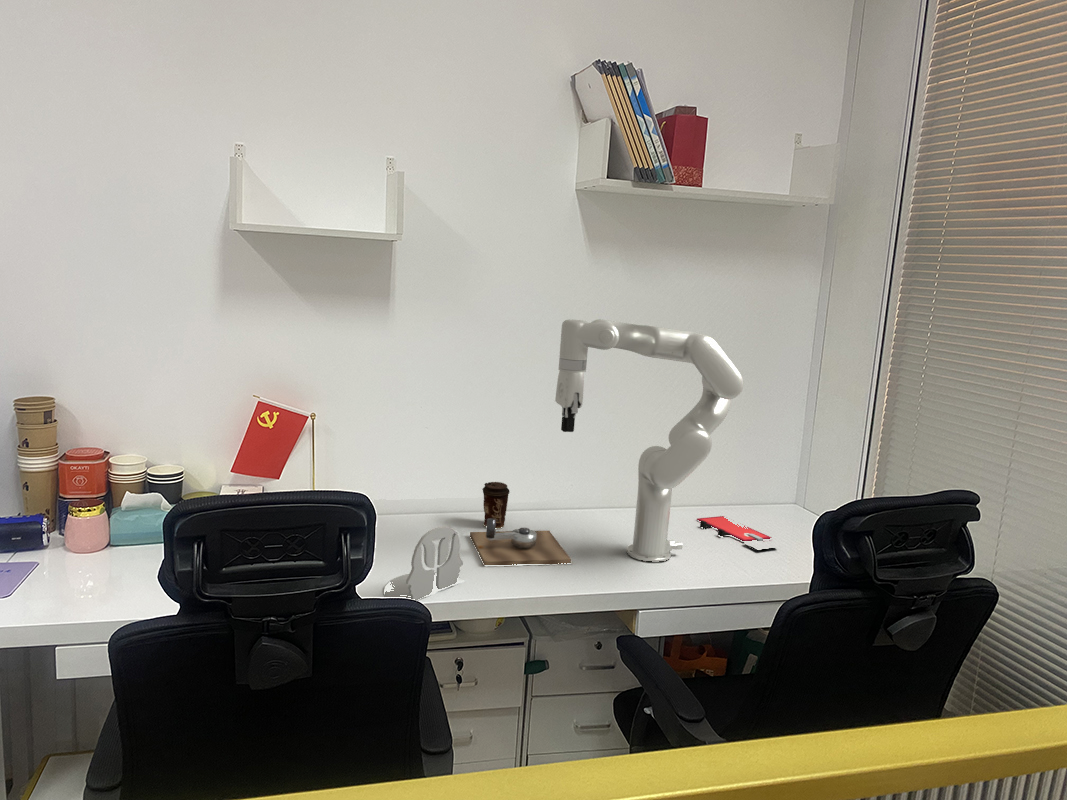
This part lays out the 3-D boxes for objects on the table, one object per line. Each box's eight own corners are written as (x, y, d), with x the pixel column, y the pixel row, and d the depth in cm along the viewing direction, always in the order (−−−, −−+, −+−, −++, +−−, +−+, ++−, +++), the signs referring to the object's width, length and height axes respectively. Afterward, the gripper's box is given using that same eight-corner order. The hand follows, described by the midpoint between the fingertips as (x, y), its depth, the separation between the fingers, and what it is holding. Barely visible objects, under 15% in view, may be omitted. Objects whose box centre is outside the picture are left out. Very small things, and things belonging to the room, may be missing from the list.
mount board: (548, 535, 239) (549, 528, 239) (570, 564, 217) (571, 556, 217) (469, 536, 233) (470, 529, 233) (484, 567, 211) (484, 559, 211)
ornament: (402, 608, 184) (405, 539, 181) (363, 590, 192) (366, 524, 189) (466, 581, 201) (470, 518, 198) (428, 567, 209) (432, 505, 206)
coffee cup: (475, 521, 247) (478, 481, 244) (500, 519, 250) (503, 479, 248) (486, 531, 239) (488, 489, 237) (511, 529, 242) (514, 487, 240)
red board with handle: (752, 554, 236) (789, 549, 243) (753, 545, 235) (790, 541, 243) (687, 523, 262) (722, 520, 269) (688, 515, 261) (723, 512, 268)
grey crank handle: (530, 537, 229) (532, 512, 227) (539, 546, 222) (541, 520, 221) (481, 541, 223) (483, 515, 222) (489, 550, 217) (491, 524, 215)
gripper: (551, 361, 223) (546, 425, 226) (568, 369, 209) (563, 437, 212) (576, 362, 225) (571, 425, 228) (595, 369, 211) (589, 437, 214)
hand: (567, 431), depth 220 cm, fingers closed
